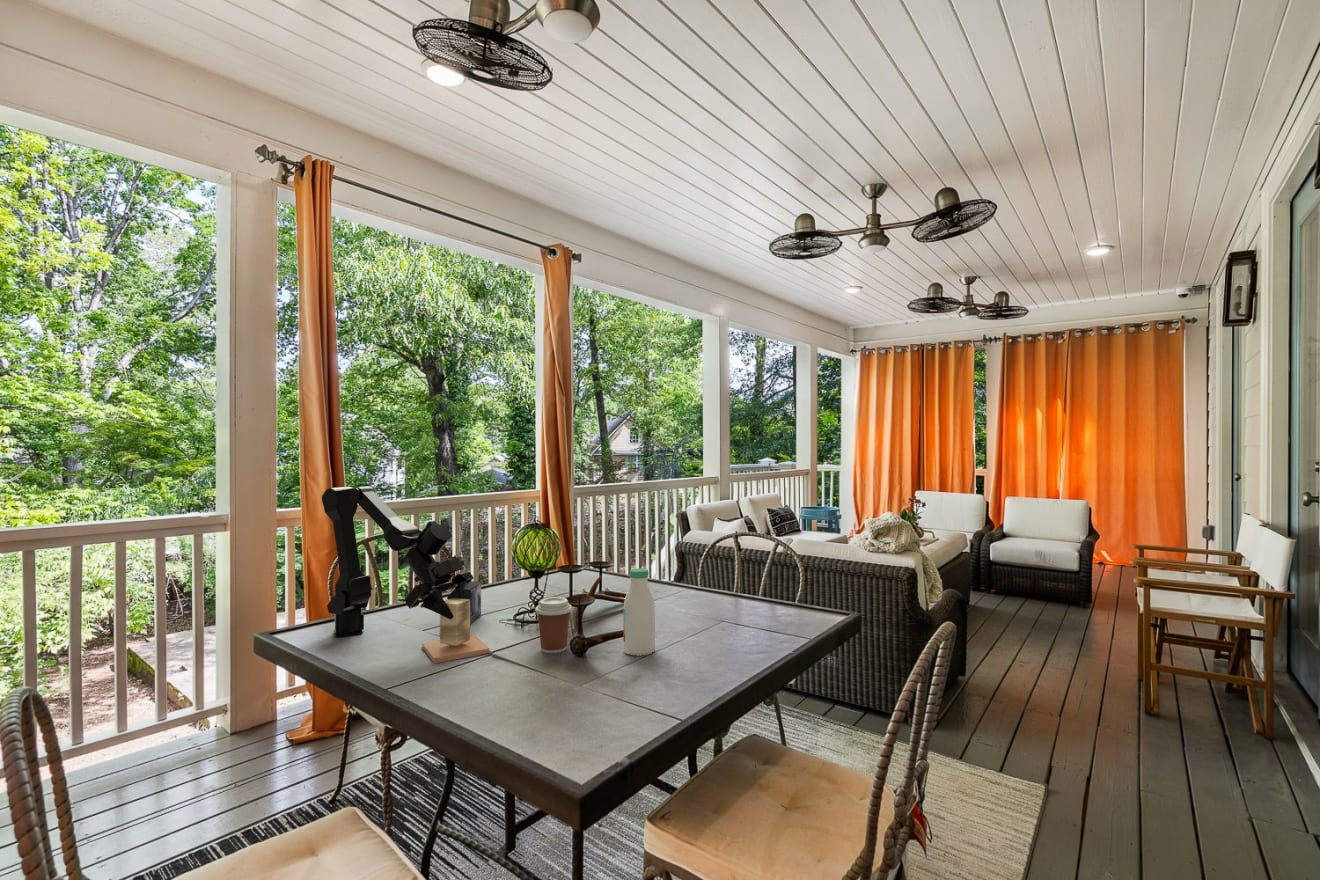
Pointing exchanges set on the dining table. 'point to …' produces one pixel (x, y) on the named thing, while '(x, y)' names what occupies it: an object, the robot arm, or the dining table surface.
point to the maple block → (456, 622)
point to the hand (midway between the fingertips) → (459, 615)
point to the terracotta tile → (454, 649)
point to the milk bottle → (639, 615)
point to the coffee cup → (553, 623)
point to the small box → (474, 599)
